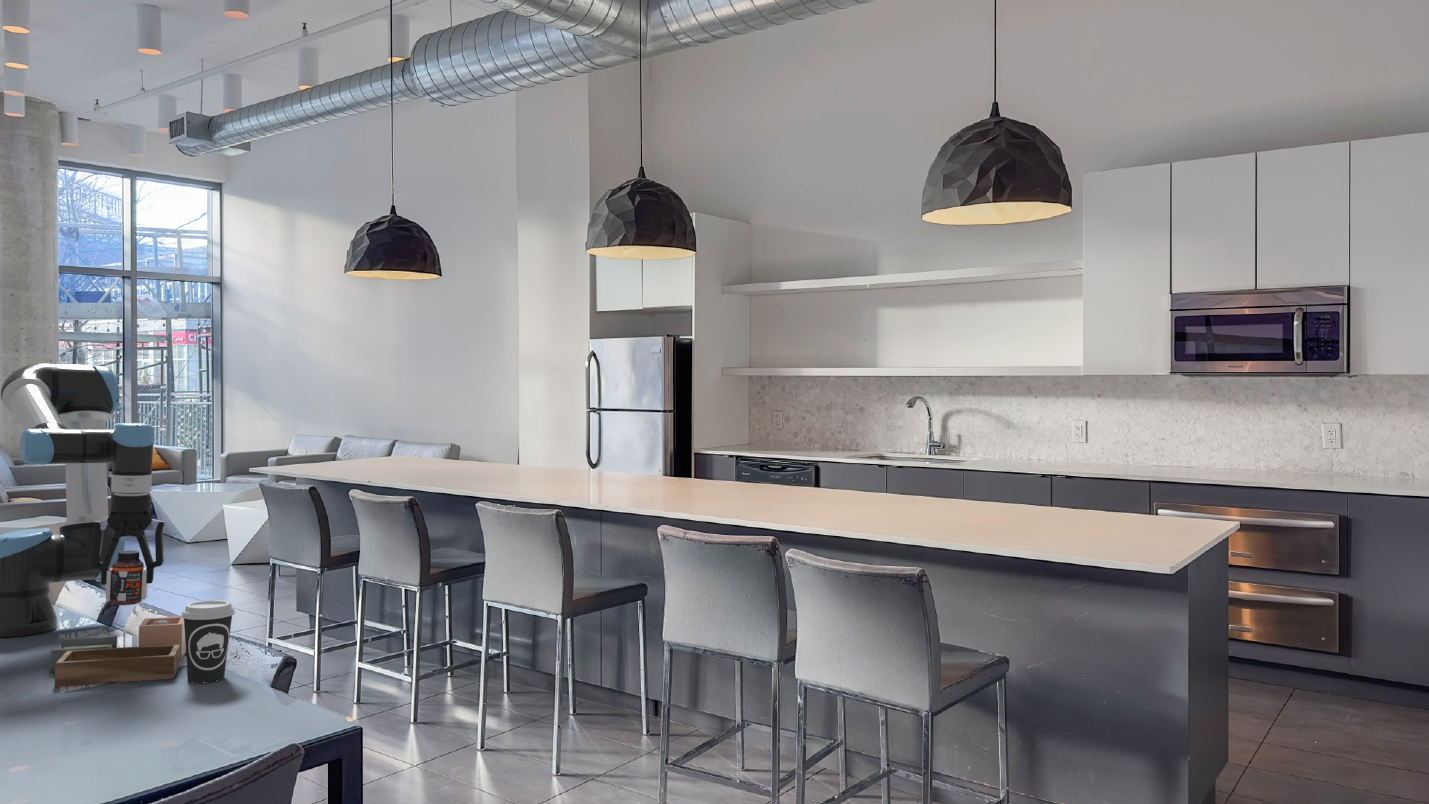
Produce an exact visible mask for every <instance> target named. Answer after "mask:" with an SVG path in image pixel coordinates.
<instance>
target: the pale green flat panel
mask: <svg viewBox="0 0 1429 804" xmlns="http://www.w3.org/2000/svg"><path fill="white" fill-rule="evenodd" d="M100 646H110V648H112V644H105V645H88V646H70V647H64V648H63V649H65V648H82V647H100Z"/></svg>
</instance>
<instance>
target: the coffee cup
mask: <svg viewBox="0 0 1429 804" xmlns="http://www.w3.org/2000/svg"><path fill="white" fill-rule="evenodd" d="M235 614H236V611H235V609H234V607H233V606H232V603H231V601H229V600H222V599H221V600H219V599H211V600H210V599H209V600H199V601H193V602H189V603H187V604H186V606H185V608H184V609H183V610H182V613H181V615H180V617H182V618H184V628H185V643H186V651H185V657H186V658H185V659H186V673H187V674H186V675H187V682H188V683H190V682H193V683H192V684H204V683H203V682H211V683H214V682H213V681H216V680H219V679H222V678H223V677H224V678H225V675H226V674H225V673H226V665H227V657H228V651H229V641H230V635H231V626H232V620H233V616H234V615H235ZM224 678H223V679H224ZM223 679H222V680H223ZM219 681H220V680H219ZM216 682H217V681H216Z"/></svg>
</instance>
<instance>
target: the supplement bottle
mask: <svg viewBox="0 0 1429 804" xmlns="http://www.w3.org/2000/svg"><path fill="white" fill-rule="evenodd" d="M144 564H145V563H144V562H143V561H142V560H141V559H140V551H139V550H132V549H131V550H124V551H120V552H118V560H117V561H116V562H114V563H113V566H112V582H111V598H110V599H111V600H110V604H111V605H114V606H131V605H132V606H133V605H136V604H139V603H141V602H142V601H143V600H141V594H142V571H143V569H144V568H145V567H144Z"/></svg>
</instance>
